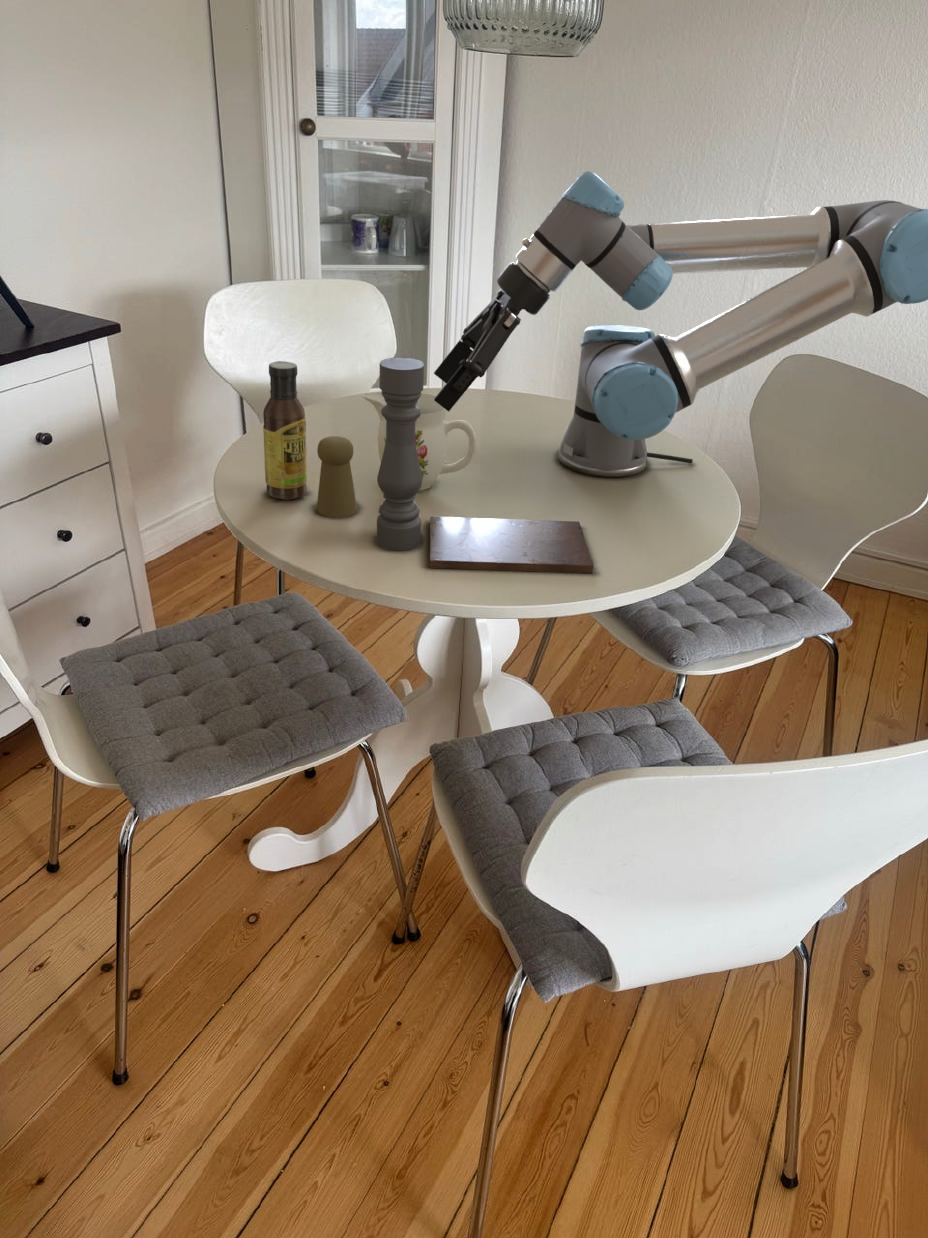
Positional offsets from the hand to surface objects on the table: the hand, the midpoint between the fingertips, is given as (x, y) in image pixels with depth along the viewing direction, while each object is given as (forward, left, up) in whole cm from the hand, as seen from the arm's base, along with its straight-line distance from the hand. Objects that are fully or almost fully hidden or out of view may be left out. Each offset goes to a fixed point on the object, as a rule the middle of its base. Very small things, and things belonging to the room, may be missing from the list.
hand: (440, 391), depth 139 cm
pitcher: (+3, 0, -15) cm, 16 cm away
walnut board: (-10, +22, -15) cm, 28 cm away
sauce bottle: (+23, +6, -16) cm, 28 cm away
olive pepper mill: (+15, +11, -15) cm, 24 cm away
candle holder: (+5, +21, -15) cm, 26 cm away
